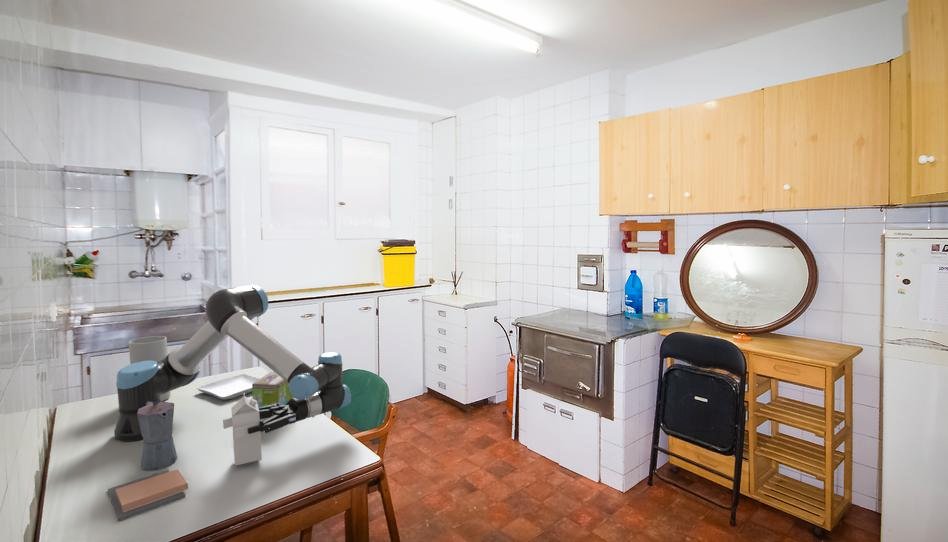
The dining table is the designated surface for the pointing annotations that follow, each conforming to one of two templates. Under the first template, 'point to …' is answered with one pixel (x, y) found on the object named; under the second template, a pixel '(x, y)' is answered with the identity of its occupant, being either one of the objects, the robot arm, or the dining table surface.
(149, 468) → the moka pot
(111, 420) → the dining table surface
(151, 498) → the terracotta tile
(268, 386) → the tea box
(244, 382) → the salad plate
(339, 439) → the dining table surface
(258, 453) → the milk carton
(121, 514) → the rubber mat
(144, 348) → the cylinder vase
